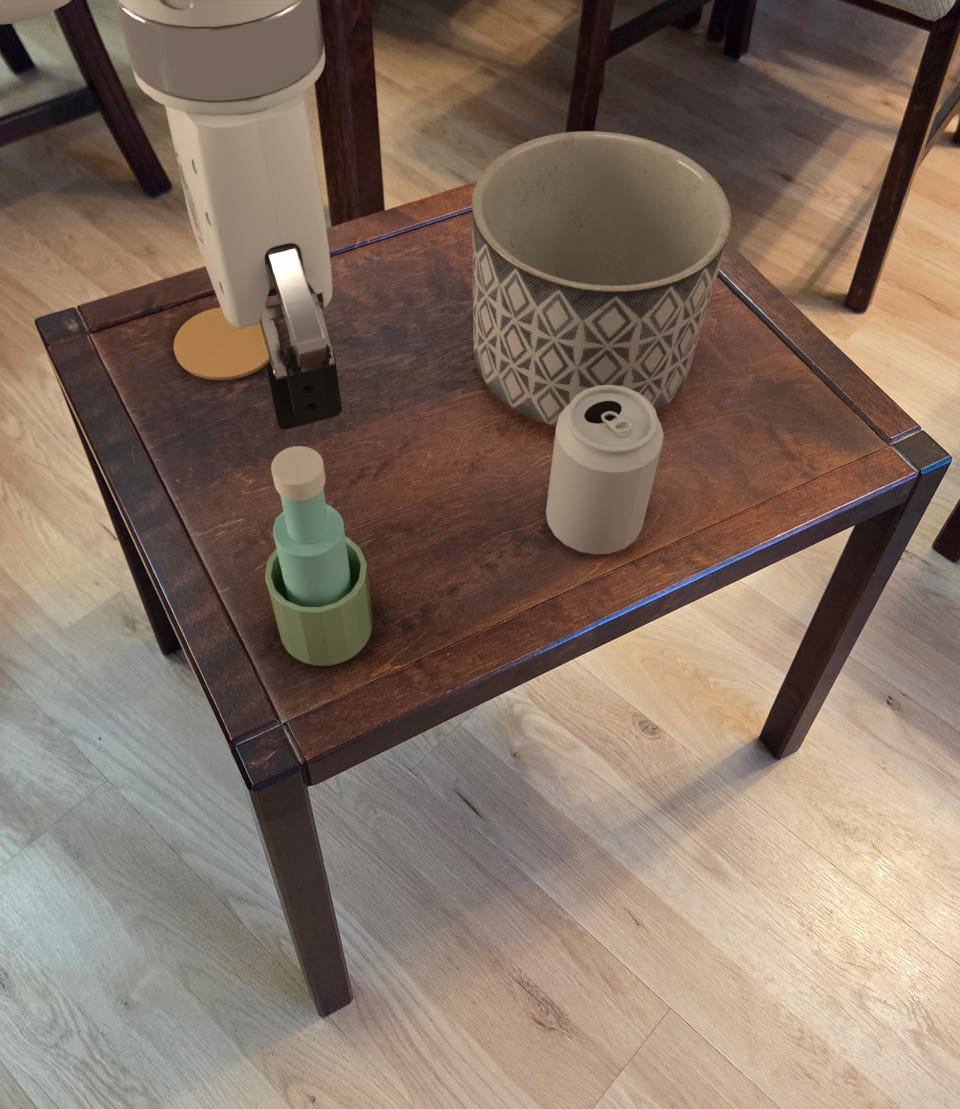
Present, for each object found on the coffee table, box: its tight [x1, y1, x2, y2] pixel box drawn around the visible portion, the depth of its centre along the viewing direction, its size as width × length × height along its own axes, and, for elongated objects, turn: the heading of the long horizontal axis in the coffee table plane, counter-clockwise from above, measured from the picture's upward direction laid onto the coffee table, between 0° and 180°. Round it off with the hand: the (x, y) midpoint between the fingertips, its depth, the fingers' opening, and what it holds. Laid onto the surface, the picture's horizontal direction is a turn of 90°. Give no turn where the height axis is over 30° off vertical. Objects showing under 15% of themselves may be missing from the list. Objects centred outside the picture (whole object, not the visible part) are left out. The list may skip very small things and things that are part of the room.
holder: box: [264, 535, 373, 667], centre depth 73 cm, size 7×7×7 cm
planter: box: [471, 130, 732, 428], centre depth 85 cm, size 19×19×16 cm
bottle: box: [270, 445, 352, 607], centre depth 68 cm, size 4×4×17 cm
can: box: [545, 385, 665, 555], centre depth 77 cm, size 8×8×12 cm
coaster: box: [173, 306, 280, 381], centre depth 92 cm, size 9×9×1 cm
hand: (283, 354), depth 55 cm, fingers open, 9 cm apart
